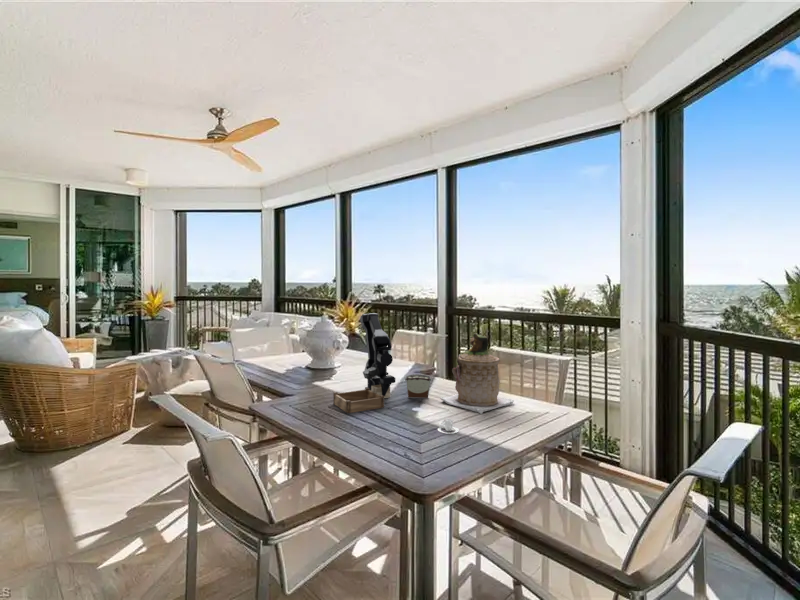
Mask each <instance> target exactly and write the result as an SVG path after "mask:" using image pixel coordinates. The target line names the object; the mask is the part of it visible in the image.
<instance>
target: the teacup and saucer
mask: <svg viewBox="0 0 800 600" xmlns="http://www.w3.org/2000/svg"><path fill="white" fill-rule="evenodd" d="M453 424H454V420H453V419H452V418H445V419H444V420H443V421H441V422H439V423H438V428H437V432H439V433H442V434H447V435H451V434H457V433H458V432H459V433H460V428H458V427H456V426H453ZM442 429H445V431H443V430H442ZM453 429H454V430H455V431H452V430H453ZM451 431H452V432H451Z"/></svg>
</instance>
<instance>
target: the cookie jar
mask: <svg viewBox="0 0 800 600" xmlns="http://www.w3.org/2000/svg"><path fill="white" fill-rule="evenodd" d="M472 336H473V337H471V338H470V341H469V344H470V345H471V346H472V347H470V348H469V349H468V350H466V351H464V353H463V354H458V356H457V358H456V362H457V365H456V367H453V368H452V370H451V371H452V374H453V376H454V378H455V379H456V380H455V388H454V389H455V391H456V392H457V394H456V393H455V394H453V395H449V396H445V397H444V396H442V397H439V399H440V400H441V401H443V402H444V403H446V404H447V405H451V406H455V407H457V408H463V409H465V410H469V411H473V412H474V413H475V412H476V413H479V414H480V415H483V413H484V412H488V411H491V410H495V409H497V408H502V407H505V406H511V405H514V401H515V400H514V399H511V398H507V397H506V398H505V397H500V396H498V395H499V392H500V377H499V366H498V365H499V363H500V362H501V360H500V359H501V358H499V357H497V356H494V355H492V354H490V353H489V352H488V348H489V339H488V337H486V336H484V335H481V334H478V333H473V335H472Z"/></svg>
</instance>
